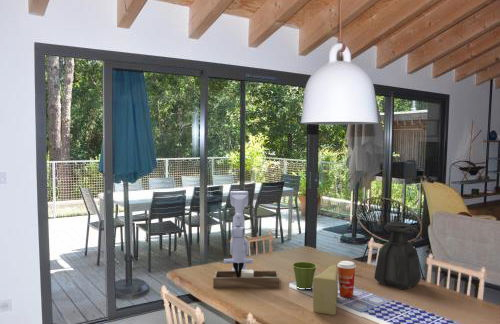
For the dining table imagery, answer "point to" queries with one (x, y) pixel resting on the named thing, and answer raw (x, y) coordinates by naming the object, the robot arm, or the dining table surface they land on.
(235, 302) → the dining table surface
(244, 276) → the cream block
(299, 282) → the plant pot
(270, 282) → the trap box
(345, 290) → the coffee cup
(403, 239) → the black faceted vase
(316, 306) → the cheese
